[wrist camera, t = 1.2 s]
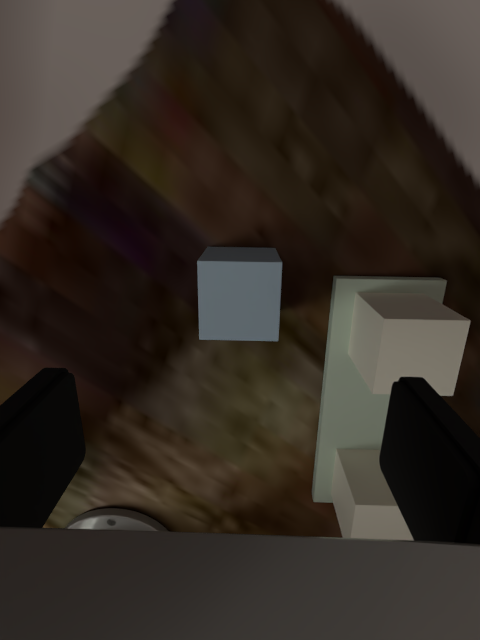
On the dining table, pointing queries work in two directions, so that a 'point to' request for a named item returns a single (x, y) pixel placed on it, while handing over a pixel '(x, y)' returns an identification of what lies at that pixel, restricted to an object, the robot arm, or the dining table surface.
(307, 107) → the dining table surface
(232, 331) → the block
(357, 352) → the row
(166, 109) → the dining table surface
